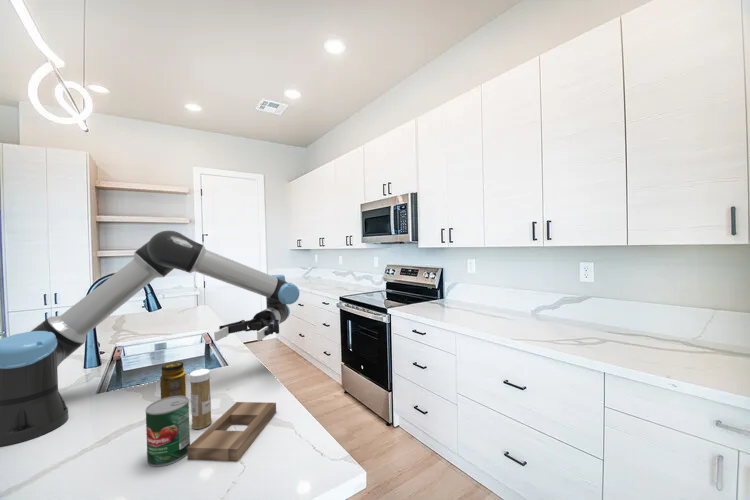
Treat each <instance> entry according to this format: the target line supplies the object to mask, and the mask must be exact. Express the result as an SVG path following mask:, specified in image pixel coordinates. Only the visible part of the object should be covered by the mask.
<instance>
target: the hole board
mask: <svg viewBox="0 0 750 500" xmlns="http://www.w3.org/2000/svg"><path fill="white" fill-rule="evenodd" d="M276 413H277V402H262V401H261V402H259V401H258V402H257V401H255V402H254V401H253V402H252V401H236V402H235V403H234V404H233V405H232V406H230V407H229V409H227V411H225V412H224V413H223V414H222V415H221V416H220V417H219V418H218V419H216V421H214V422H213V423H211V424H210V425H209V427H208V428H207V429H206V430H204V431H203V433H201V434H200V435H199V436H198V437H196V439H195V440H193V442H192V443H190V446H188V447H187V452H188V454H187V460H197V461H198V460H199V461H220V462H221V461H223V462H224V461H225V462H226V461H227V462H239V460H240V459H241V458H242V456H243V455H244V454H245V452H246V451H247V450H248V449H249V447H250V446H251V445H252V444H253V442H255V440H256V439H257V437H258V436H259V435H260V434H261V432H262V431H263V429H264V428H265V427H266V426H267V425H268V423H269V422H270V421H271V420H272V418H273V416H274V415H275V414H276ZM232 425H236V426H237V425H243V426H247V427H246V428H245V429H244V430H227V429H228V428H229V427H230V426H232Z"/></svg>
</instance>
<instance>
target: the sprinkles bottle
mask: <svg viewBox="0 0 750 500" xmlns="http://www.w3.org/2000/svg"><path fill="white" fill-rule="evenodd" d="M210 380H211V371H210V369H208V368H201V369H200V368H199V369H197V370H196V369H195V370H193V371H191V372H190V373H189V382H190V411H191V412H190V413H191V419H192V420H191V421H192V422H191V427H192V429H195V430H200V429H204V428H206V427H208V426H211V425H212V422H213V421H212V404H211V402H212V401H211V386H210V385H211V384H210V382H211V381H210Z"/></svg>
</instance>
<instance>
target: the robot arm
mask: <svg viewBox="0 0 750 500" xmlns="http://www.w3.org/2000/svg"><path fill="white" fill-rule="evenodd" d="M174 269H175V270H179V271H181V272H186V273H189V274H191V273H192V274H193V273H199V274H201V275H205V276H207V277H210V278H213V279H215V280H218V281H221V282H223V283H227V284H229V285H232V286H235V287H238V288H240V289H244V290H246V291H248V292H252V293H253V294H254V293H255V294H258V295H260V296H263V297H264V298H265V300H266V302H265V303H266V308H265V309H263V310H261V311H259V312H257V313H255V315H254V316H253V317H252V318H251V319H249V320H245V319H241V320H239V321H235V322H232V323H227V324H224V325H219V327H218V330H216V331H214V332H213V333H214V337H213V338H214V341H215V342H218V341H220V340H221V339H224V338H226V337H228V336H229V335H230V334H234V333H240V332H247V333H248V332H252V331H253V332H254V331H256V339H257V341H258V342H260V341H262V340H263V339H264V338H266V337H268V336H269V335H273V334H274V333H275V334H278V335H279V334H280V324H282V323H284V322H285V321H286V320H287V319H288V318H289V316H290V315H291V310H290V307H289V306H288V305H292V304H294V303H296V302H297V301H298V300H299V297H300V289H299V287H298V286H297V285H295V284H294V283H292V282H288V281H287V280H286V277H285V275H284V274H267V273H265V272H263V271H260V270H259V269H255V268H253V267H250V266H248V265H245V264H243V263H240V262H238V261H235V260H233V259H231V258H228V257H225V256H223V255H220V254H218V253H216V252H213V251H210V250H207V249H206V247H205V246H204V244H201V243H199V242H196V241H194V240H193V239H191V238H189V237H187V236H186V235H184V234H182V233H180V232H178V231H175V230H163V231H160V232H157V233H156V234H154V235H153V236H152V237H151V238H150V239H149V241H147V242H146V243H144V245H142V246H141V247H139V248H138V249H137V250H136V251H134V252H133V259H132V260H131V261H129V262H128V263H127V264H125V265H124V266H123V267H122V268H120V269H119V270H117V272H115V273H114V274H113V275H111V276H110V277H108V278H107V279H106V280H105V281H104V282H102V283H101V284H99V285H98V286H97V287H96V288H95V289H93V290H91V292H89V293H88V294H87V295H85V296H84V297H83V298H82V299H80V300H79V301H78V302H76V303H75V304H74V305H72V306H71V307H70V308H68V309H67V310H66V311H65V312H63V313H62V314H61V315H56V316H55V315H54V316H49V317H47V318H46V319H45V320H44V321H43V322H41V323H40V324H39V325H37V326H36V327H34V328H33V329H32V330H30V331H26V332H21V333H16V334H12V335H10V336H5V337H2V338H0V447H3V446H9V445H14V444H18V443H21V442H24V441H28V440H31V439H34V438H37V437H40V436H41V435H46V433H49V432H51V431H53V430H56V429H57V428H59V427H60V426H62V425H63V424H65V423H66V422H67V421H68V420H69V408H68V406H67V404H66V402H65V400H64V399H63V397H62V395H61V393H60V392H59V379H58V378H59V377H58V376H59V375H58V367H59V366H60V364H61V363H63V361H65V360H66V359H67V358H69V357H70V356H71V355H72V354H73V353H74V352H75V351H77V350H78V349H79V348H81V346H83V345H84V344H85V343H86V342H87V335H88V334H89V333H90V332H91V331H92V330H93V329H95V328H97V326H99V325H100V324H101V323H103V322H104V321H105V320H106V319H107V318H108V317H110V316H111V315H113V313H114V312H116V311H117V310H118V309H119V308H121V307H122V306H123V305H124V304H126V303H127V302H128V301H129V300H131V299H132V298H133V297H134V296H135V295H136V294H138V293H139V292H140V291H141V290H142V289H144V288H145V287H146V286H148V285H149V284H150V283H151V282H152V281H153V280H155V279H157V278H165V277H166V276H167V275H168V274H169V273H171V272H172V271H173V270H174Z"/></svg>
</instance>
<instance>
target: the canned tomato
mask: <svg viewBox="0 0 750 500" xmlns="http://www.w3.org/2000/svg"><path fill="white" fill-rule="evenodd" d="M189 399H190V398H189V397H187V395H186V396H172V397H167V398H163V399H161V398H160V399H158V400H156V401H154V402H151V403H150V404H149V405H148V406H147V407H146V408H145V426H146V427H145V428H146V430H145V431H146V434H145V435H146V457H147V458H146V462H147V465H149V466H151V467H152V468H153V467H155V468H156V467H164V466H169V465H173V464H174V463H176V462H178V461H180V460H182V459H183V458H184V457H186V456H188V452H187V447H188V446H190V445H191V436H190V435H191V434H190V404H189V403H190V400H189Z"/></svg>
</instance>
